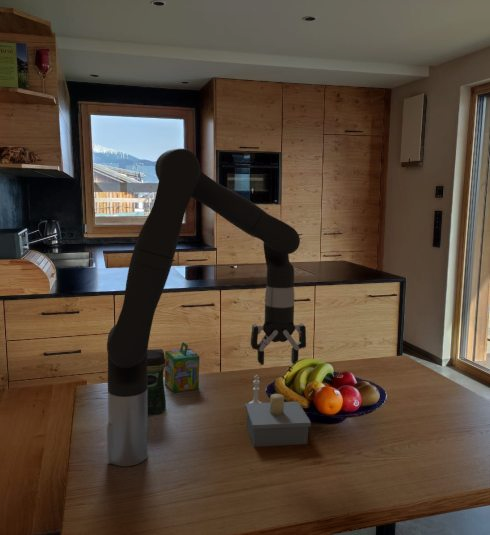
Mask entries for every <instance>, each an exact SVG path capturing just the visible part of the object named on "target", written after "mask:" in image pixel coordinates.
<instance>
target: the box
mask: <svg viewBox="0 0 490 535" xmlns="http://www.w3.org/2000/svg"><path fill="white" fill-rule="evenodd" d="M246 427H247V431H248V433H249V436H250V439H251V442H252V445H253V447H274V446H275V447H277V446H292V445H308V442H309V426H305V427H283V428H262V429H253V428H252V425H251V422H250V420H249V417H248V414H247V413H246Z"/></svg>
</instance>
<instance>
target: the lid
mask: <svg viewBox="0 0 490 535" xmlns="http://www.w3.org/2000/svg"><path fill="white" fill-rule="evenodd" d="M269 398H270V400H269V402H262V403H249V402H248V403H245V404H244V408H245V411H246V415H247V414H248V417H249V420H250V422H251V425H252V428H253V429H262V428H283V427H305V426H308V427H311V426H312V422H311V420H310V418H309V416H308V415H307V414H306V412H305V410H304V409H303V407H302V406H301V404H300V403H299V401H285V396H284V395H283V394H280V393H273V394H271V395H270V397H269Z"/></svg>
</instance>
